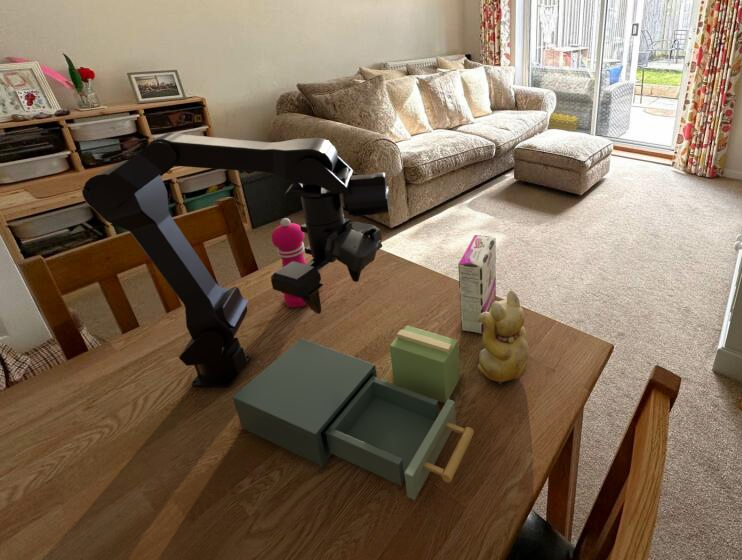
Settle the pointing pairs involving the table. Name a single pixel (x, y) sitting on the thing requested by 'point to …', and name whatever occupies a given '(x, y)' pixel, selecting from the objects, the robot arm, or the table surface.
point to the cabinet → (302, 397)
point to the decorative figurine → (504, 340)
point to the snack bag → (425, 363)
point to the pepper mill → (290, 251)
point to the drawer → (397, 434)
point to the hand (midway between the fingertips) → (337, 296)
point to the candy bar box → (477, 282)
